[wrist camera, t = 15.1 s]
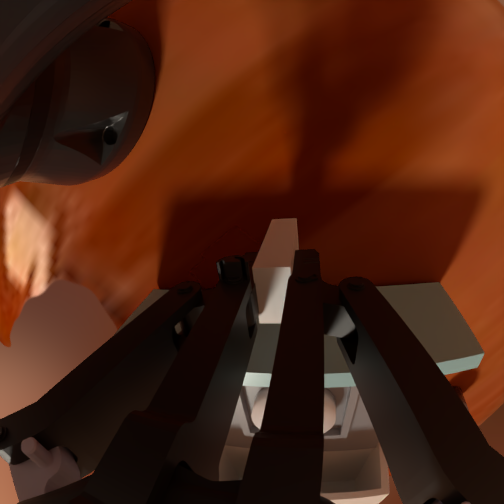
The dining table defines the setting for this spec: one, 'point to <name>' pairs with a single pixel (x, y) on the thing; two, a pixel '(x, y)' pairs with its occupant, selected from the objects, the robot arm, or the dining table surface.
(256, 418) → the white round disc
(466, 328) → the drawer
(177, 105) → the dining table surface
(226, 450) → the white drawer box
